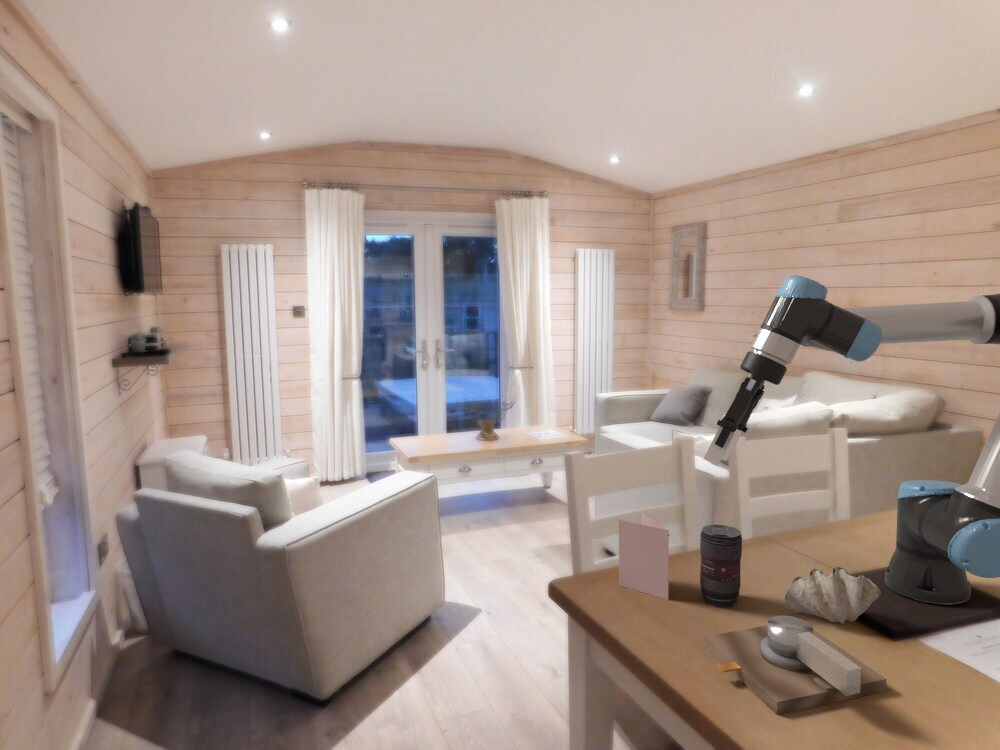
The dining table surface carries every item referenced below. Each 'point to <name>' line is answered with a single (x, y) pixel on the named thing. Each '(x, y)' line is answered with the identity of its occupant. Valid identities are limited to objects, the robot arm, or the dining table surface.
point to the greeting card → (644, 556)
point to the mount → (782, 671)
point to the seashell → (832, 595)
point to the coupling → (813, 652)
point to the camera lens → (720, 564)
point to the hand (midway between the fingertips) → (715, 460)
